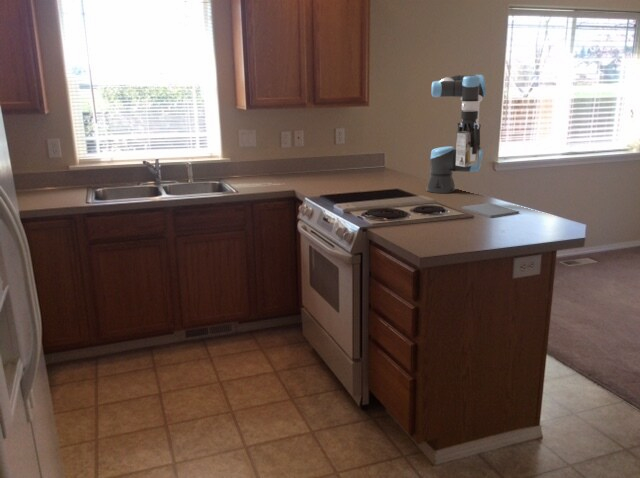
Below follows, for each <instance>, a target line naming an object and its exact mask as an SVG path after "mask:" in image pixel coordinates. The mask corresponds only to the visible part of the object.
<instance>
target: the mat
mask: <svg viewBox="0 0 640 478" xmlns="http://www.w3.org/2000/svg"><path fill="white" fill-rule="evenodd" d="M461 210H465V211H467V212H471V213H474V214H477V215H479V216H483V217H487V218H489V219H492V218H499V217H505V216H511V215H512V216H513V215H519V214H520V211H519V210H516V209H513V208H509V207H505V206H501V205H497V204H494V203H490V202H486V203H485V202H484V203H480V204H478V203H477V204H471V205H463V206H461Z"/></svg>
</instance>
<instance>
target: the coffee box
mask: <svg viewBox="0 0 640 478" xmlns="http://www.w3.org/2000/svg"><path fill="white" fill-rule="evenodd" d="M472 133H473V132H468V131H460V132H458V131H456V143H455V144H456V147H455V148H456V166H462V167H468V166H474V165H479V146H477V148H476V155H475V161H470V146H471V134H472Z"/></svg>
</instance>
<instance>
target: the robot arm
mask: <svg viewBox="0 0 640 478" xmlns="http://www.w3.org/2000/svg"><path fill="white" fill-rule="evenodd" d="M486 89H487V88H486V79H485V76H484V75H483V74H476V73H475V74H455V75H450V76H446V77H444V78H443V77H442V78H441V80H435V81H432V83H431V96H432V97H433V98H460V101H461V110H462V111H460V112H461V114H460V119H461V122H457V132H460V131H468V132H473V133H472V134H471V146H470V161H475V155H476V148H477V146H479V165H474V166H468V167H462V166H456V149H455V148H454V146H441V147H436V148H433V149H432V150H431V151H430V172H429V179H428V181H427V185H426V188H425V189H426V190H425V191H426V192H428V193H429V192H430V193H435V194H448V193H454V192H456V186H455V182H454V177H453V172H455V173H457V172H459V173H460V172H462V173H463V172H464V173H471V172H472V173H473V172H480V169H481V167H482V161H483V154H484V149H481V128H482V127H481V124H479V123H480V104H481V102H482V101H483V99H484V97H486V96H487V94H486V93H487V90H486Z"/></svg>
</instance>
